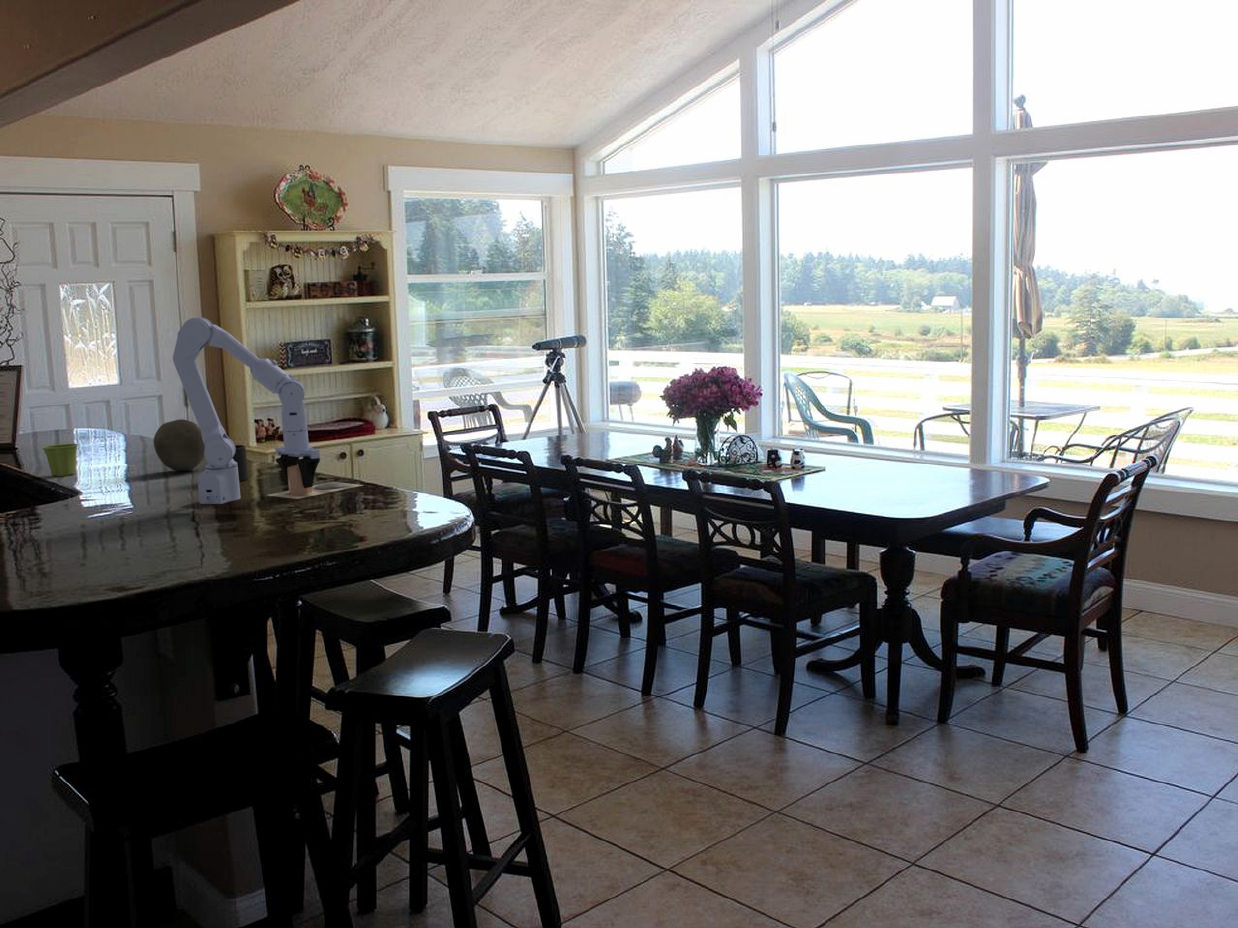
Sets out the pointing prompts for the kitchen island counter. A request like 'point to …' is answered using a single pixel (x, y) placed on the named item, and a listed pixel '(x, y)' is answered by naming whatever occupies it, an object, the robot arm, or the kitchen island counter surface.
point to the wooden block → (296, 482)
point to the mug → (241, 462)
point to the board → (318, 490)
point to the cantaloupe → (179, 445)
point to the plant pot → (61, 459)
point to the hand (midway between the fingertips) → (300, 486)
